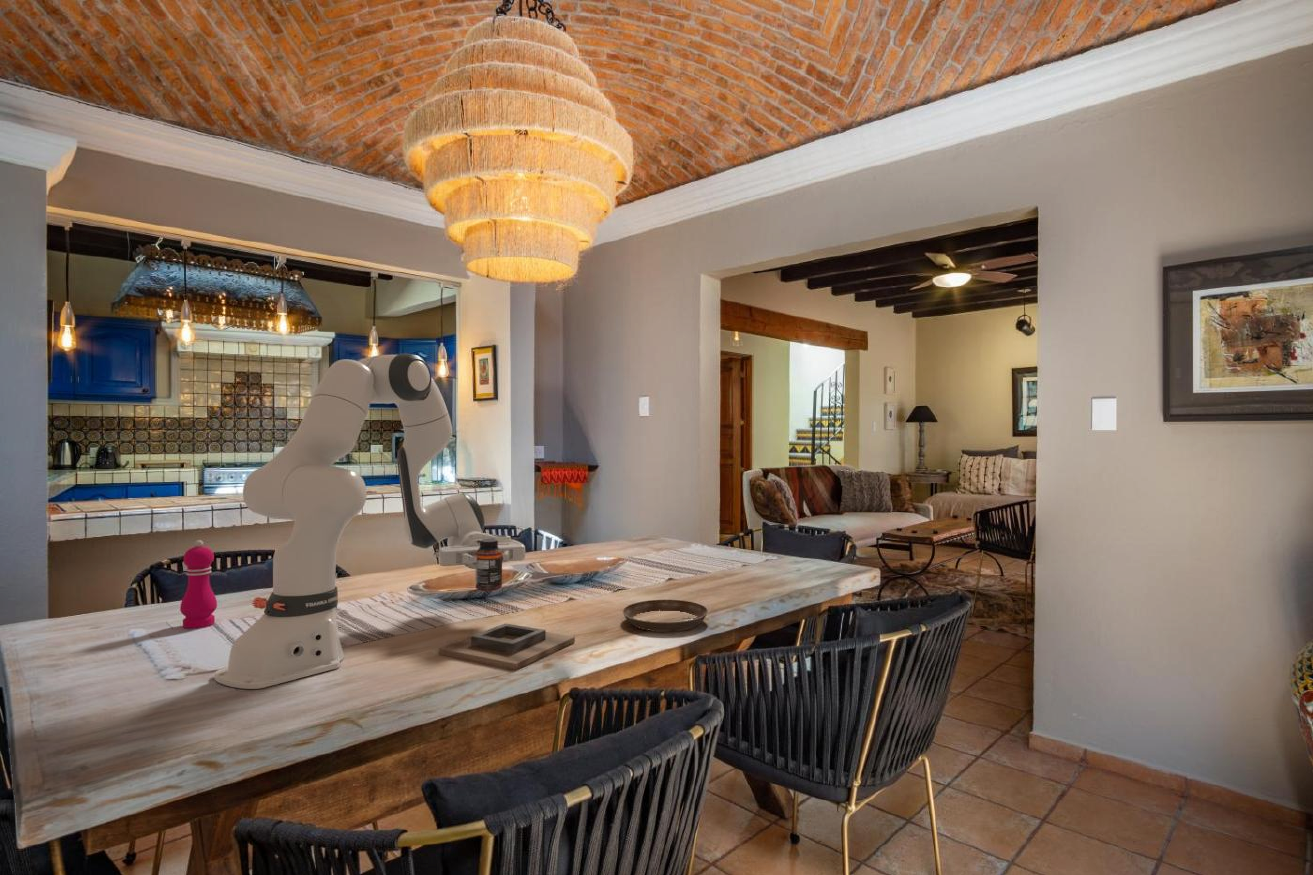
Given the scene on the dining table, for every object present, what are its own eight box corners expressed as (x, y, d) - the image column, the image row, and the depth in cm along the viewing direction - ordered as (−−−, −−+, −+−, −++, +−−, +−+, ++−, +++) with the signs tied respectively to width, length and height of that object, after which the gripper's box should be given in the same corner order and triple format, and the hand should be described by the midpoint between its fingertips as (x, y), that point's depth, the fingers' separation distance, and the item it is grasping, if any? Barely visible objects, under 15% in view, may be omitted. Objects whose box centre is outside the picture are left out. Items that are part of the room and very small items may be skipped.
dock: (516, 670, 134) (516, 653, 134) (438, 654, 143) (438, 638, 143) (574, 642, 151) (574, 627, 151) (502, 629, 161) (502, 616, 161)
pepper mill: (224, 621, 166) (224, 538, 166) (201, 630, 159) (201, 542, 159) (196, 620, 167) (196, 537, 167) (172, 628, 160) (172, 542, 160)
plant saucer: (655, 640, 154) (655, 626, 154) (606, 620, 170) (606, 606, 170) (725, 626, 166) (725, 612, 166) (673, 608, 183) (673, 595, 183)
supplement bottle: (488, 584, 164) (489, 537, 164) (507, 588, 161) (508, 539, 161) (469, 589, 159) (470, 540, 159) (489, 593, 156) (489, 542, 156)
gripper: (432, 539, 167) (443, 548, 154) (515, 535, 176) (532, 542, 164) (431, 566, 167) (443, 576, 154) (515, 560, 176) (532, 569, 164)
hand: (490, 559), depth 159 cm, fingers closed on supplement bottle, 6 cm apart
